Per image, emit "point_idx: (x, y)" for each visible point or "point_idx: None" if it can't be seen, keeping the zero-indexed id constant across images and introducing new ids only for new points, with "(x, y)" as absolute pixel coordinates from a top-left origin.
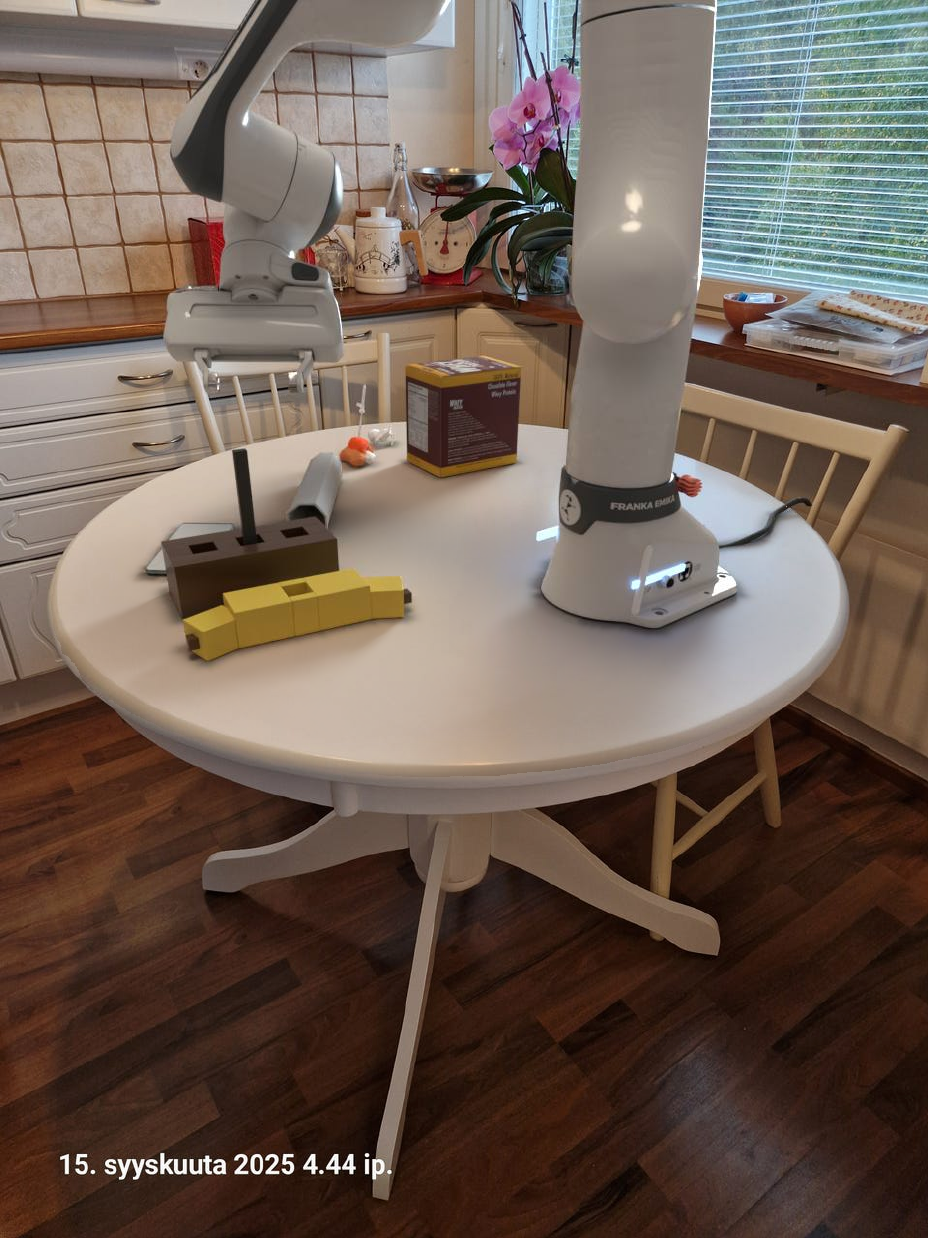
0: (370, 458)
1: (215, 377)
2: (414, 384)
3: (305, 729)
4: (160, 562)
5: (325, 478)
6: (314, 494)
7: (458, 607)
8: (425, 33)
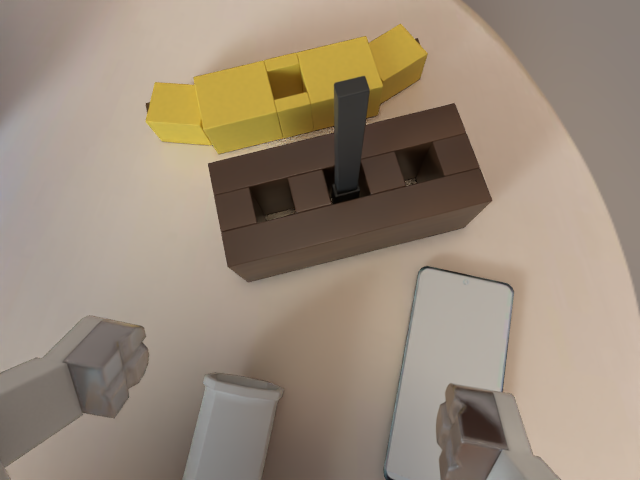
0: None
1: (461, 411)
2: None
3: None
4: (494, 311)
5: None
6: (210, 452)
7: (100, 118)
8: None
